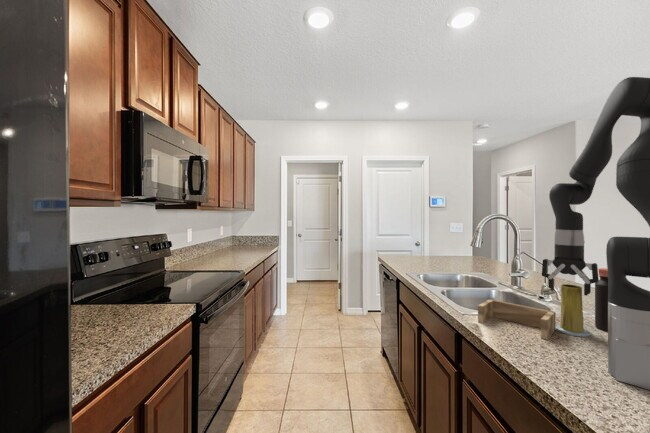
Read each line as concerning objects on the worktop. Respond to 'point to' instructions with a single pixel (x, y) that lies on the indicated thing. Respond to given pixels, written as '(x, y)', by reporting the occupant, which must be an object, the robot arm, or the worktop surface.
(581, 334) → the trivet
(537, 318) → the wooden bracket
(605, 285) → the bottle
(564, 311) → the vase
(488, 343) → the worktop surface
